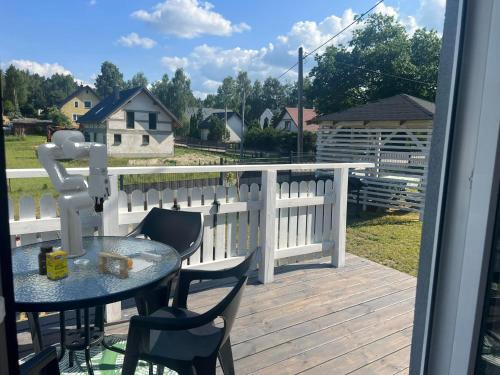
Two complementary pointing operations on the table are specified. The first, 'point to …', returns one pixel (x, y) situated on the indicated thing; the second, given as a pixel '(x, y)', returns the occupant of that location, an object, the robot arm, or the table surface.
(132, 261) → the ball
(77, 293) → the table surface
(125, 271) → the bridge
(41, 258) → the supplement bottle
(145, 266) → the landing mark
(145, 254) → the wall
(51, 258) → the supplement box
